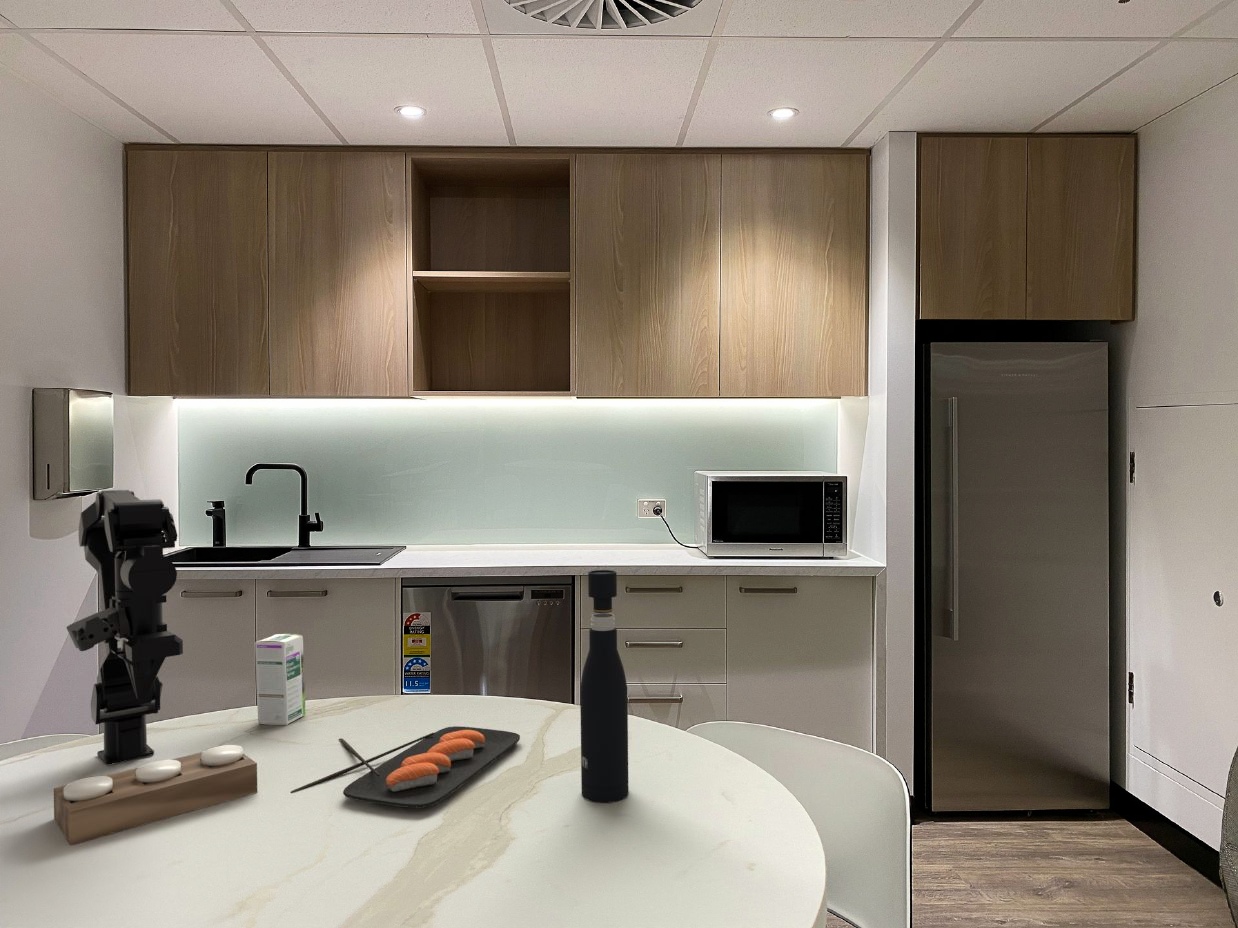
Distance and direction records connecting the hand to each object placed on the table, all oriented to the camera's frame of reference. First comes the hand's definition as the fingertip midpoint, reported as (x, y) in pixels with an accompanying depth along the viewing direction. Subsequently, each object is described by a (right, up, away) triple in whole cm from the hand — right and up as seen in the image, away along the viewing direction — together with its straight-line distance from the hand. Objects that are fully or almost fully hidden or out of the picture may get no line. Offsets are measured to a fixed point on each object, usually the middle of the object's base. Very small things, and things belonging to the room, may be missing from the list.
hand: (141, 698), depth 118 cm
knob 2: (+12, -11, -2) cm, 17 cm away
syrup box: (+9, -12, +28) cm, 31 cm away
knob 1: (+1, -12, -13) cm, 17 cm away
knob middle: (+7, -11, -7) cm, 15 cm away
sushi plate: (+34, -12, +6) cm, 37 cm away
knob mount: (+7, -12, -7) cm, 16 cm away
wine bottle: (+66, -12, -5) cm, 67 cm away
